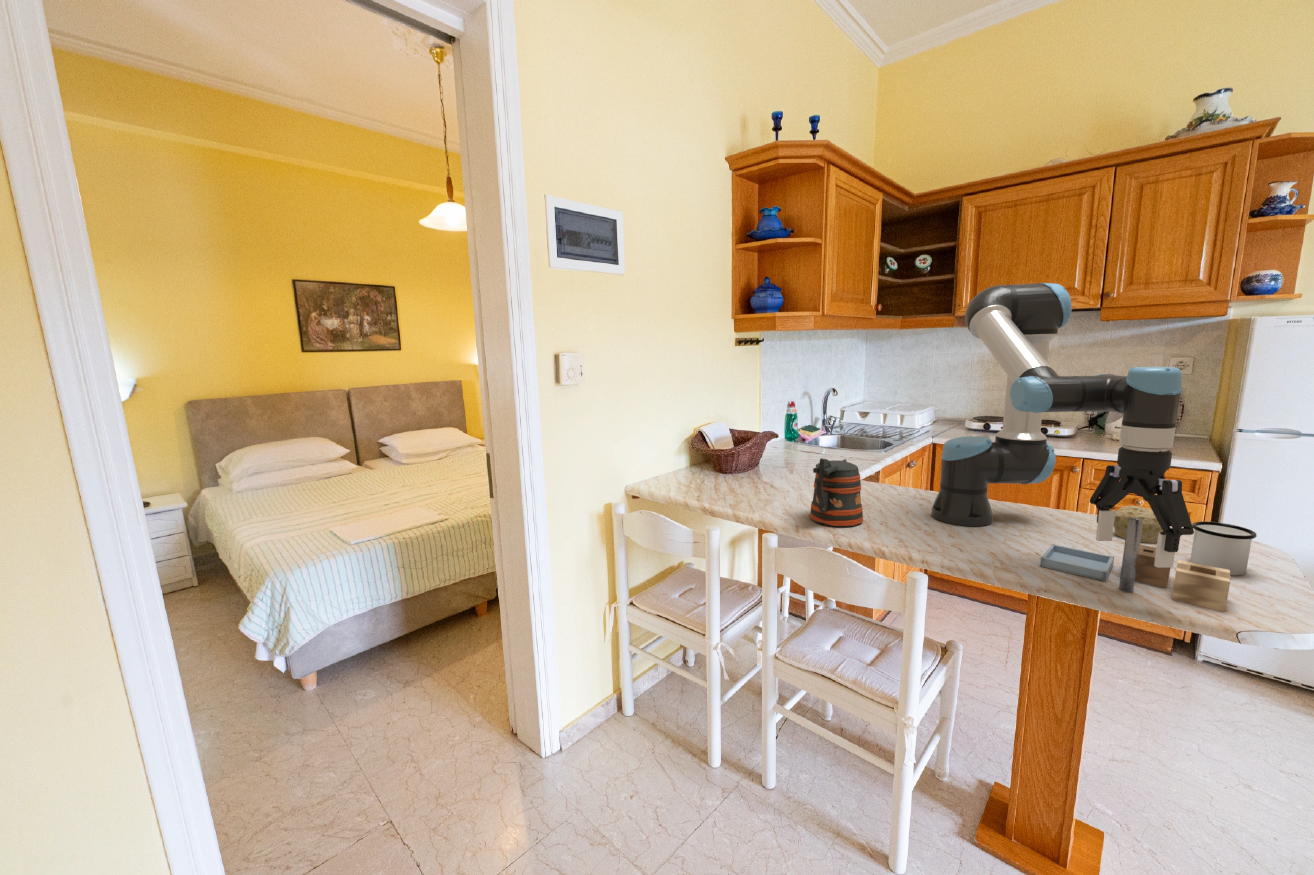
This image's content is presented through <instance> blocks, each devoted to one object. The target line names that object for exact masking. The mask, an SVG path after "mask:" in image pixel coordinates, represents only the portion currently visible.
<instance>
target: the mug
mask: <svg viewBox="0 0 1314 875" xmlns="http://www.w3.org/2000/svg"><path fill="white" fill-rule="evenodd" d="M1192 527H1193V530H1194V534H1193V539H1192V545H1191V546H1192V547H1191V552H1190V558H1189V562H1192V563H1197V564H1202V565H1207V566H1212V567H1217V568H1222V569H1227V570H1230V576H1233V577H1234V576H1236V577H1237V576H1242V575H1246V574H1247V568H1248V564H1249V559H1250V553H1251V552H1250V551H1251V546H1252V545H1251V544H1252V540H1254V539H1256V538H1257V536H1258V534H1257V533H1256V532H1255V531H1253V530H1251V529H1249V528H1246V527H1243V526H1239V525H1235V524H1231V523H1225V522H1216V521H1195V522H1192Z"/></svg>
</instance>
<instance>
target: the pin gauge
mask: <svg viewBox="0 0 1314 875" xmlns="http://www.w3.org/2000/svg"><path fill="white" fill-rule="evenodd" d="M1142 526H1143V519H1141V518H1137V517H1128V523H1127V530H1126V538H1124V547H1123V553H1122V554H1123V555H1122V560H1121V568H1120V577H1119V584H1118V585H1119V586H1118V590H1120V591H1122V592H1125V593H1134V590H1135V582H1136V581H1135V576H1136V569H1137V562H1138V555H1139V548H1140V545H1141V542H1140V540H1141V533H1142Z"/></svg>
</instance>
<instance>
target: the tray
mask: <svg viewBox="0 0 1314 875" xmlns="http://www.w3.org/2000/svg"><path fill="white" fill-rule="evenodd" d="M1114 561H1115V556H1112V555H1106V554H1101V553H1096V552H1093V551H1087V550H1082V549H1078V548H1073V547H1068V546H1063V545H1059V544H1054V543H1052V544H1051V545H1050V546H1049V547H1048V549H1047V550H1046V551H1045V552H1044V553H1043V555H1042V556H1041V558H1040V564H1039V566H1040V567H1041V568H1047V569H1051V570H1055V571H1059V572H1064V573H1068V574H1072V575H1076V576H1080V577H1085V578H1089V579H1093V580H1098V581H1102V582H1107V579H1108V577H1109V576H1110V573H1111V571H1112V569H1113V566H1114V563H1115V562H1114Z"/></svg>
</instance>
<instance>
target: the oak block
mask: <svg viewBox="0 0 1314 875" xmlns="http://www.w3.org/2000/svg"><path fill="white" fill-rule="evenodd" d="M1174 574H1175V575H1174V582H1173V587H1172V594H1171V600H1174V601H1177V602H1178V601H1179V602H1182V603H1187V604H1190V605H1193V606H1199V607H1204V608H1208V609H1212V610H1215V611H1220V612H1224V613H1225V612H1226V609H1227V602H1228V598H1229V597H1228V596H1229V592H1230V583H1231V575H1230V570H1227V569H1222V568H1217V567H1212V566H1207V565H1202V564H1197V563H1192V562H1190V561H1187V560H1186V561H1185V560H1180V559H1178V560H1177V564H1176V568H1175V573H1174Z"/></svg>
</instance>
